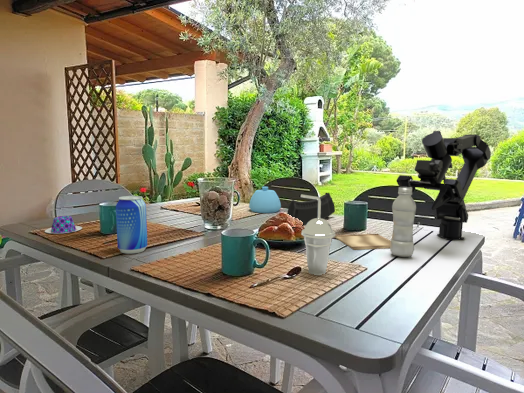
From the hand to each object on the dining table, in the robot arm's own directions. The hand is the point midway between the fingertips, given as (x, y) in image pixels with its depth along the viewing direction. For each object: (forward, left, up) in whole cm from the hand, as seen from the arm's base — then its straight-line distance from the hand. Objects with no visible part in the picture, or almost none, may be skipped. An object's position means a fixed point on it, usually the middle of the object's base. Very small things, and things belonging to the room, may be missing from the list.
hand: (417, 207), depth 113 cm
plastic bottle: (+7, +4, -14) cm, 16 cm away
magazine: (+18, -45, -14) cm, 50 cm away
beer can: (+84, -14, -14) cm, 86 cm away
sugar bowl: (+32, -73, -14) cm, 81 cm away
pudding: (+112, -44, -14) cm, 121 cm away
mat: (+10, -12, -14) cm, 21 cm away
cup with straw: (+36, +13, -14) cm, 41 cm away
